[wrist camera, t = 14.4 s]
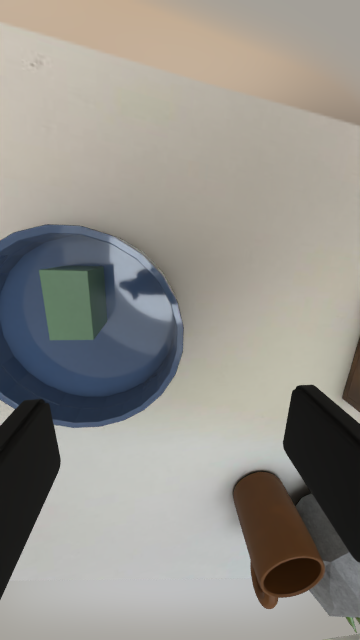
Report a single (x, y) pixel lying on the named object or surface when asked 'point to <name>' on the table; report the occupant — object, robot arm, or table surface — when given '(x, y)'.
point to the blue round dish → (86, 355)
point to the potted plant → (332, 564)
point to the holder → (354, 382)
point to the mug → (275, 540)
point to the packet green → (74, 301)
